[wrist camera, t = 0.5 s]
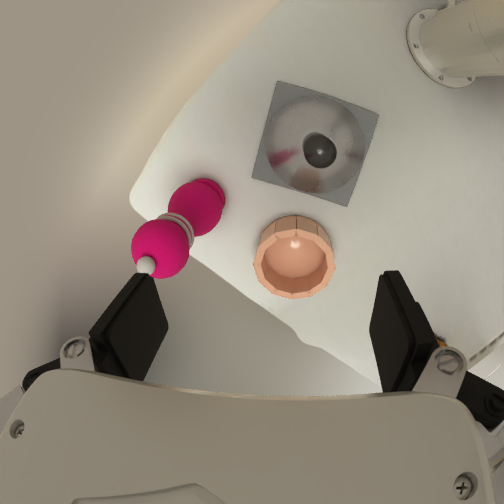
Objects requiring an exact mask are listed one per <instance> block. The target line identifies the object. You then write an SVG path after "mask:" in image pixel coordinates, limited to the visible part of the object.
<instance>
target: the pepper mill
mask: <svg viewBox="0 0 504 504" xmlns="http://www.w3.org/2000/svg"><path fill="white" fill-rule="evenodd" d="M224 204H225V196H224V193H223V191H222V189H221V187H220V186H219V185H218V184H217V183H215V182H214V181H212V180H209V179H197V180H195V181H193V182H191V183H187V184H184V185H182V186H181V187H179V188H178V189H177V190H176V191H175V192H174V194H173V195H172V197H171V199H170V201H169V205H168V213H165V214H162V215H160V216H159V217H158V218H157V219H155V220H151V221H148V222H146V223H145V224H143V225H142V226H141V227H140V228H139V229H138V230H137V232H136V233H135V235H134V237H133V239H132V245H131V251H132V257H133V259H134V262H135V264H136V265H137V270H138V271H139V273H148V274H149V275H150V276H152V277H153V278H158V279H164V278H168V277H172V276H174V275H175V274H177V273H178V272H179V271H180V270H181V269H182V268H183V267H184V266H185V264H186V262H187V260H188V257H189V250H190V248H191V247H192V245H193V242H194V237H196V236H201V235H204V234H206V233H208V232H210V231H211V230H212V229H213V228H214V227H215V226H216V225H217V223H218V222H219V220H220V218H221V214H222V209H223V207H224Z"/></svg>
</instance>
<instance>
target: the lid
mask: <svg viewBox="0 0 504 504" xmlns="http://www.w3.org/2000/svg"><path fill="white" fill-rule="evenodd" d="M265 144H266V153H267V157H268V160H269V163H270V164H271V166H272V168H273V170H274V171H275V173H276V174H277V175H278V176H279V177H280V178H281V179H282V180H283V181H284V182H285V183H287V184H288V185H290V186H291V187H293V188H295V189H298V190H300V191H304V192H308V193H326V192H330V191H334V190H336V189H338V188H340V187H342V186H344V185H345V184H347V183H348V182H349V181H350V180H351V179H352V178H353V177H354V176H355V175H356V173H357V172H358V170H359V169H360V167H361V164H362V162H363V158H364V153H365V140H364V135H363V131H362V129H361V126H360V124H359V122H358V121H357V119H356V118H355V117H354V115H353V114H352V113H351V112H350V111H349V110H348V109H347V108H345V107H344V106H343V105H341V104H339V103H338V102H336V101H333V100H331V99H327V98H324V97H304V98H300V99H297V100H294V101H292V102H290V103H288V104H287V105H285V106H284V107H283V108H281V109H280V110H279V111H278V112H277V113H276V115H275V116H274V117H273V119H272V121H271V123H270V124H269V127H268V130H267V134H266V143H265Z"/></svg>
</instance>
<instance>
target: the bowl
mask: <svg viewBox="0 0 504 504" xmlns="http://www.w3.org/2000/svg"><path fill="white" fill-rule="evenodd" d="M253 265H254V269H255V272H256V275H257V278H258V281H259V282H260V283H261V284H262V285H263V286H264V287H265V288H267V289H268V290H269V291H270V292H271V293H272V294H273V293H274V295H278V296H282V297H285V298H289V299H297V298H304V297H310V296H311V295H312V296H313V295H314V294H316V293H317V292H318V291H320V290H321V289H323V288H324V287H326V286H327V285H328V283H329V281H330V279H331V277H332V274H333V272H334V270H335V264H334V258H333V251H332V247H331V242H330V238H329V236H328V235H327V233H326V231H325V230H324V229H323V228H322V227H321V226H320V225H319V224H318V223H317V222H315V221H314V220H312V219H309V218H307V217H303V216H286V217H283V218H280V219H277V220H276V221H274V222H272V223H271V224H270V225H269V226H268V227H267V228H266V229H265V230H264V232H263V233H262V235H261V238H260V241H259V245H258V248H257V252H256V255H255V259H254V263H253Z"/></svg>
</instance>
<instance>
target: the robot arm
mask: <svg viewBox="0 0 504 504" xmlns="http://www.w3.org/2000/svg"><path fill="white" fill-rule="evenodd" d="M420 17H421V18H420ZM407 40H408V45H409V48H410V51H411V53H412V55H413V57H414V59H415V61H416V62H417V64H418V65H419V67H420V68H421V69H422V70H423V71H424V72H425V73H426V74H427V75H428V76H429V77H430V78H431V79H433V80H434V81H436V82H437V83H439V84H441V85H444V86H446V87H450V88H463V87H466V86H468V85H470V84H471V83H473V82H474V80H475V79H476V77H477V76H504V0H465V1H461V2H460V3H459V4H457V5H456V1H455V0H447V7H446V8H444V9H442V10H436V9H425V10H422V11H420V12H418V13H416V14H415V15H414V16H413V17H412V18H411V20H410V21H409V23H408V28H407ZM413 45H414V46H415V47H414V46H413ZM167 331H168V322H167V319H166V316H165V313H164V310H163V307H162V304H161V301H160V298H159V295H158V292H157V288H156V285H155V282H154V279H153V277H152V276H150V275H149V274H148V273H135V274H134V275H133V276H132V277H131V279H130V280H129V281H128V282H127V284H126V285H125V286H124V287H123V289H122V290H121V291H120V292H119V294H118V295H117V296H116V297H115V299H114V300H113V301H112V302H111V304H110V305H109V306H108V308H107V309H106V310H105V311H104V313H103V314H102V315H101V317H100V318H99V319H98V321H97V322H96V323H95V325H94V326H93V327H92V329H91V330H90V331H89V335H90V339H89V340H88V339H87V338H85V337H74V338H72V339H70V340H68V341H67V342H66V343H65V344H64V345H63V346H62V348H61V351H60V358H58V359H56V360H54V361H52V362H49V363H47V364H45V365H42V366H40V367H38V368H35V369H33V370H31V371H29V372H28V373H27V375H26V376H25V378H24V380H23V385H22V386H23V387H21V386H20V385H19V386H17V387H16V388H15V389H14V390H12V391H11V392H9V393H8V394H7V395H5V396H4V397H3V398H1V399H0V504H504V391H503V390H502V389H500V388H499V387H497V386H495V385H493V384H491V383H489V382H487V381H485V380H483V379H482V378H480V377H478V376H476V375H474V374H472V373H470V372H468V371H466V370H467V361H466V358H465V356H464V355H463V354H462V353H461V352H460V351H459V350H457V349H455V348H453V347H447V346H444V347H440V346H439V344H438V341H437V339H436V337H435V335H434V333H433V331H432V328H431V326H430V324H429V322H428V320H427V318H426V316H425V314H424V312H423V310H422V308H421V306H420V304H419V303H418V302H415V300H414V298H413V296H412V294H411V292H410V290H409V289H408V287H407V285H406V283H405V281H404V279H403V277H402V275H401V274H400V272H399V271H398V270H397V271H385V272H384V274H383V275H380V276H379V281H378V287H377V292H376V298H375V303H374V308H373V313H372V317H371V322H370V327H369V332H370V337H371V341H372V345H373V349H374V353H375V358H376V362H377V367H378V371H379V376H380V380H381V385H382V390H383V393H372V394H358V395H336V396H264V395H245V394H232V393H220V392H211V391H202V390H194V389H186V388H179V387H172V386H166V385H160V384H154V383H149V382H143V380H144V378H145V376H146V374H147V372H148V370H149V368H150V366H151V363H152V361H153V359H154V357H155V355H156V353H157V351H158V349H159V347H160V345H161V343H162V341H163V339H164V337H165V335H166V333H167Z"/></svg>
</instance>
